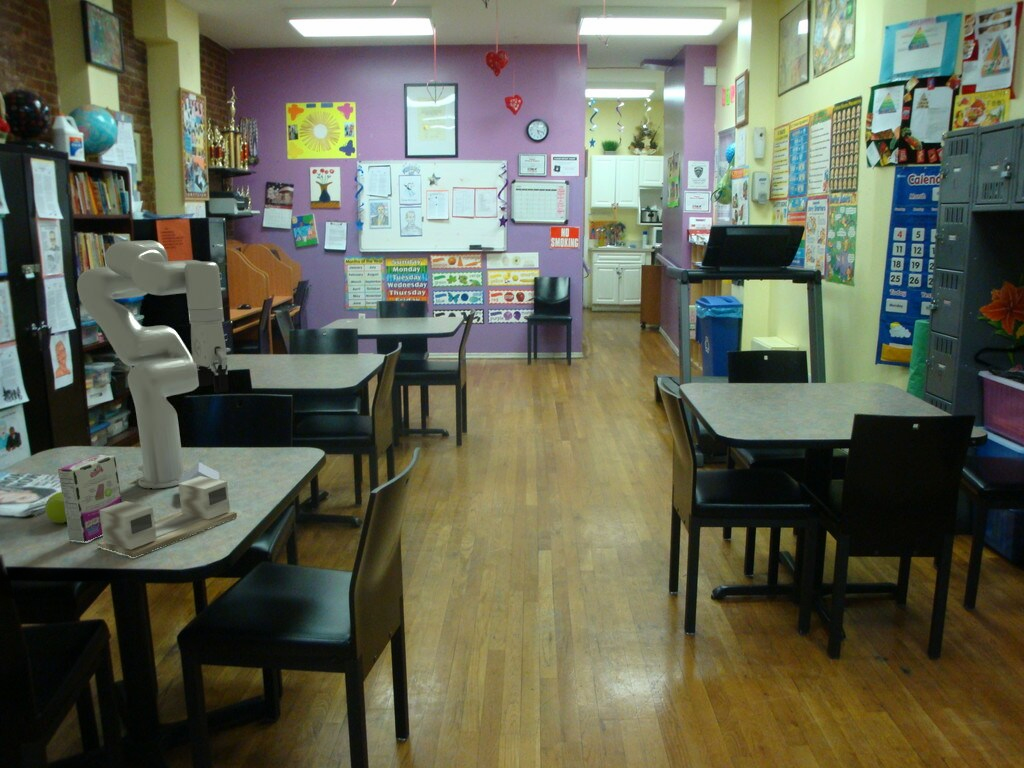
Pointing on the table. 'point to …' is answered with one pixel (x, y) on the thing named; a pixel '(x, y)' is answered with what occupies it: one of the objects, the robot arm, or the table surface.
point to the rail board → (139, 534)
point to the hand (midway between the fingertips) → (213, 388)
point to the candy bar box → (89, 494)
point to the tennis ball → (56, 508)
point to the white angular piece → (200, 472)
